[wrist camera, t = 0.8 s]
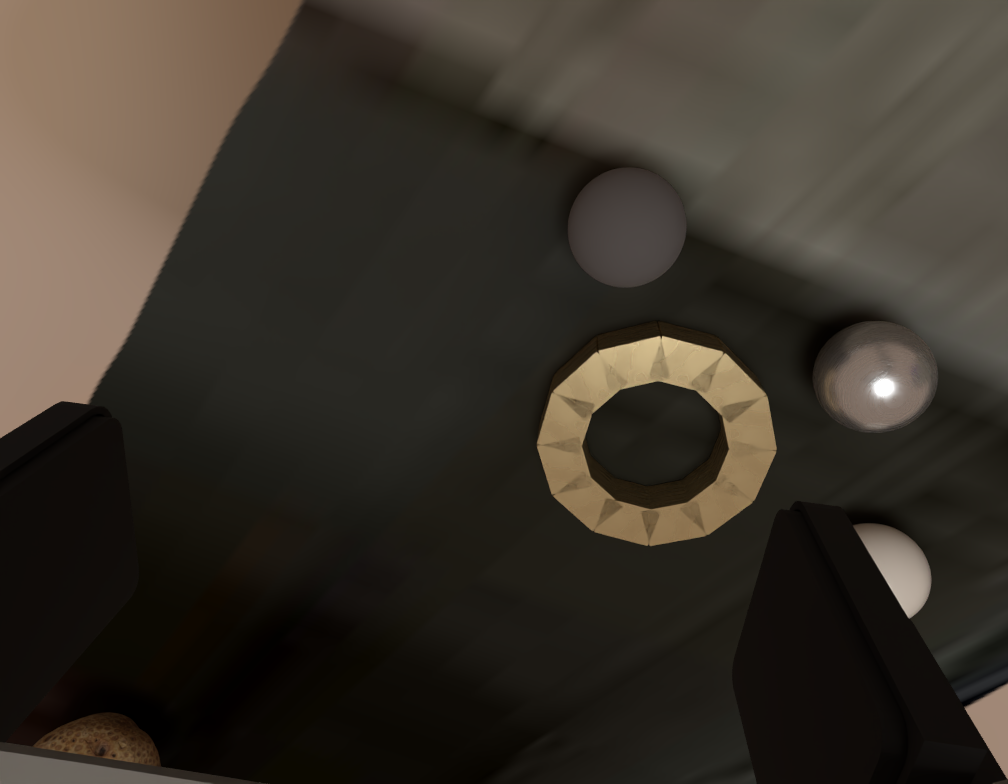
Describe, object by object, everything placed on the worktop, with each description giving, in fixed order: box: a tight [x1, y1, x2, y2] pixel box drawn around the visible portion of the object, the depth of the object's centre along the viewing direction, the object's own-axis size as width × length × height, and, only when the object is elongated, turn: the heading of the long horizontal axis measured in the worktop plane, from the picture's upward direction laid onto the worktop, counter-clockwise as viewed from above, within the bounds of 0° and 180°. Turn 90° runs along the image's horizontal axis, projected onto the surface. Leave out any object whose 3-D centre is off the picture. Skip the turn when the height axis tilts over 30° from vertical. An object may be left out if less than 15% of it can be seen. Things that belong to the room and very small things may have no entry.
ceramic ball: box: [853, 523, 931, 618], centre depth 42 cm, size 6×6×6 cm
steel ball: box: [813, 321, 938, 433], centre depth 37 cm, size 6×6×6 cm
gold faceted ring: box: [537, 321, 777, 546], centre depth 41 cm, size 12×12×2 cm
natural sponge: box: [33, 712, 161, 767], centre depth 52 cm, size 9×9×10 cm
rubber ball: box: [568, 167, 687, 288], centre depth 35 cm, size 6×6×6 cm
